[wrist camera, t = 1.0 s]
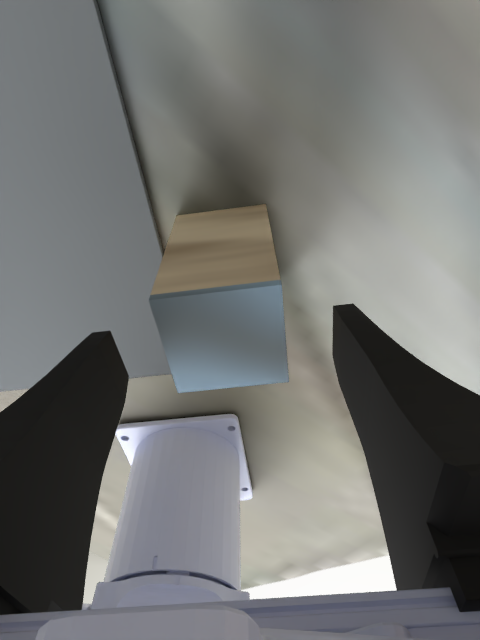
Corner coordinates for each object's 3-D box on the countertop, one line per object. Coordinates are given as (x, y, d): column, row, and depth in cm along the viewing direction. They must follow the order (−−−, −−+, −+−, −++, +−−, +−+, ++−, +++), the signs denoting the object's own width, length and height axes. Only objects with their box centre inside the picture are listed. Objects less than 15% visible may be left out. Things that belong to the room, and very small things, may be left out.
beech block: (272, 282, 19) (289, 381, 14) (194, 291, 20) (178, 393, 14) (265, 203, 17) (281, 284, 11) (176, 215, 17) (148, 300, 12)
